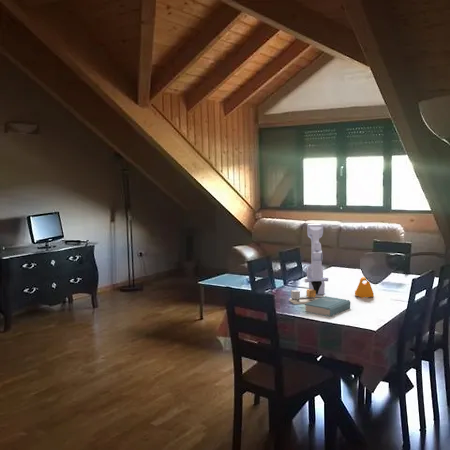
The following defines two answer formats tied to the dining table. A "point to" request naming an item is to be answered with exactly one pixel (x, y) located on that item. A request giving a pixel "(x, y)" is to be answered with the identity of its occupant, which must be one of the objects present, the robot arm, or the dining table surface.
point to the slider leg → (311, 293)
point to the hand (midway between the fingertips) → (316, 293)
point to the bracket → (364, 289)
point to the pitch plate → (301, 298)
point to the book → (327, 306)
